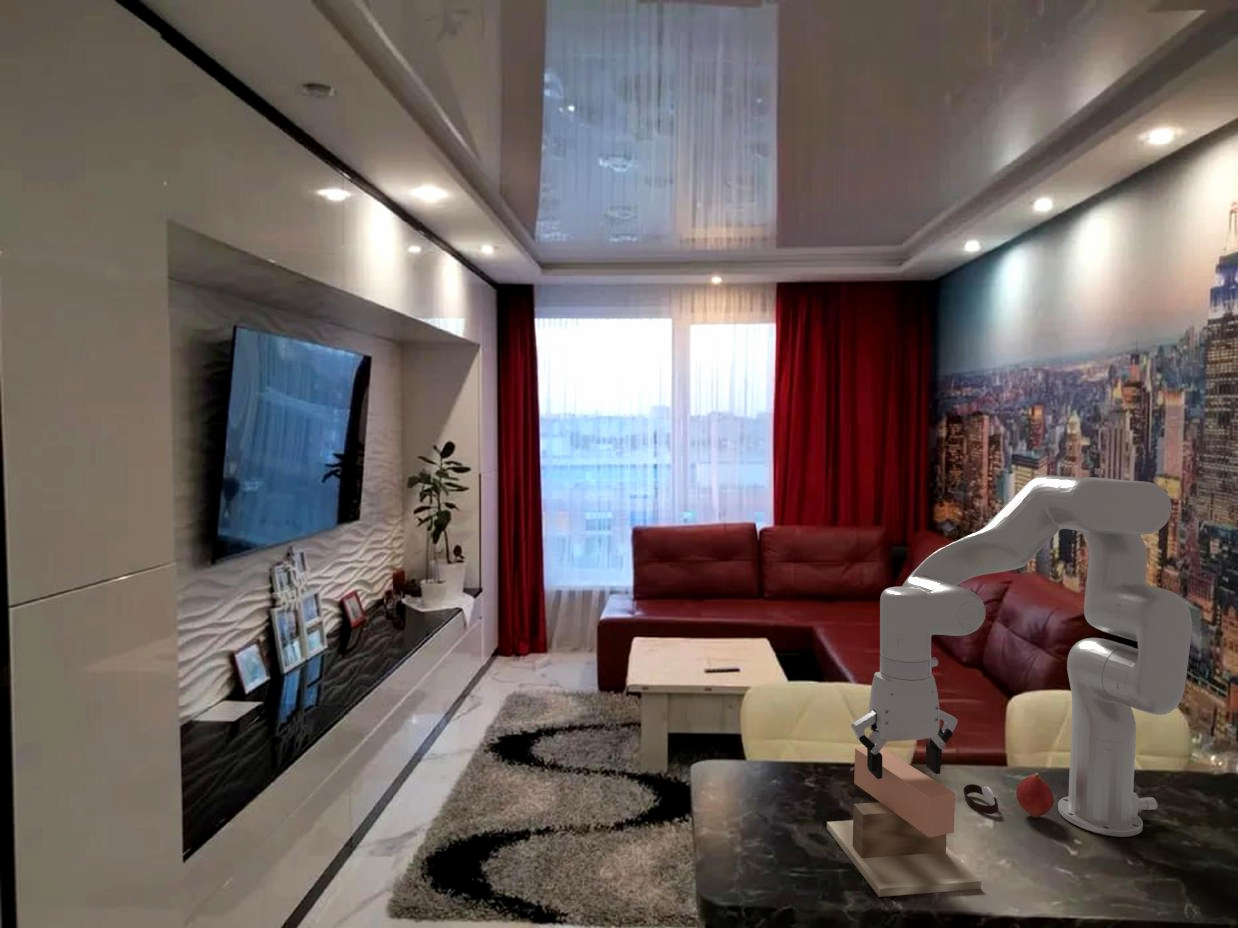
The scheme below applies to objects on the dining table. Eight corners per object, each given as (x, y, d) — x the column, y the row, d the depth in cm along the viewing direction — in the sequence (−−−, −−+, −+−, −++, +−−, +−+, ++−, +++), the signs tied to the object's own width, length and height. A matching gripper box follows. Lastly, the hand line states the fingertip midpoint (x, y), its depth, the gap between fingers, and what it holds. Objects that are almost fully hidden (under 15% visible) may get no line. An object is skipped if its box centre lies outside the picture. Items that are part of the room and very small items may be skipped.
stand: (915, 822, 133) (916, 776, 133) (980, 888, 115) (982, 834, 114) (826, 828, 131) (828, 781, 131) (879, 896, 112) (880, 841, 112)
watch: (1005, 816, 136) (1006, 796, 136) (981, 817, 136) (982, 797, 135) (979, 795, 144) (980, 776, 144) (956, 796, 143) (956, 777, 143)
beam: (876, 779, 132) (877, 744, 131) (953, 832, 115) (955, 793, 114) (854, 782, 130) (855, 748, 130) (929, 837, 113) (930, 797, 113)
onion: (1008, 812, 137) (1009, 768, 137) (1030, 806, 140) (1032, 762, 139) (1037, 828, 132) (1039, 782, 132) (1060, 821, 134) (1062, 776, 134)
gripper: (943, 656, 126) (942, 758, 127) (842, 662, 124) (842, 766, 125) (970, 671, 119) (969, 779, 120) (863, 678, 116) (863, 788, 117)
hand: (904, 772), depth 122 cm, fingers open, 9 cm apart
